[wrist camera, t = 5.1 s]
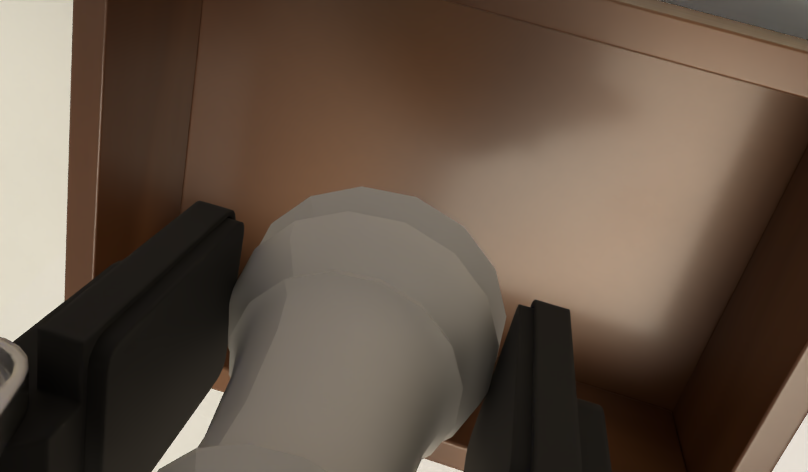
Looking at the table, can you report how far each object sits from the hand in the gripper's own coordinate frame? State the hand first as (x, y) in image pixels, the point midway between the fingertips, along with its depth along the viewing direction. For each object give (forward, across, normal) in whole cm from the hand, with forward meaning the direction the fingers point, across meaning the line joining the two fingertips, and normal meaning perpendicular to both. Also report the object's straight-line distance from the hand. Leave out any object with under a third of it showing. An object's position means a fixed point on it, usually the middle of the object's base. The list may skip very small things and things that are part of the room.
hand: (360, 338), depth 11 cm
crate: (+10, -1, 0) cm, 10 cm away
